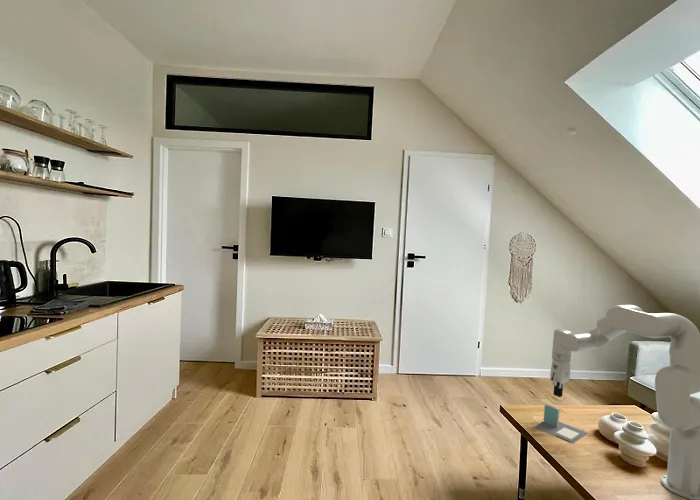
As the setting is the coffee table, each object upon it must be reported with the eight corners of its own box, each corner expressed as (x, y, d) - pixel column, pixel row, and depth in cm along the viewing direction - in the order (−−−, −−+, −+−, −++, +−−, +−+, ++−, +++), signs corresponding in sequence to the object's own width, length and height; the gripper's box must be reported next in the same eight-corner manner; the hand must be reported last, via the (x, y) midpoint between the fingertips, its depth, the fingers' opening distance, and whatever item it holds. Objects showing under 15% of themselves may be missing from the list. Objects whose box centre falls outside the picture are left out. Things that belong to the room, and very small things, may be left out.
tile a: (579, 433, 159) (571, 438, 154) (579, 436, 159) (570, 441, 154) (564, 427, 163) (556, 432, 159) (564, 430, 163) (555, 435, 159)
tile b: (558, 426, 167) (559, 408, 166) (557, 427, 166) (558, 409, 166) (544, 420, 171) (545, 403, 171) (543, 421, 171) (544, 404, 170)
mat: (588, 434, 162) (588, 433, 162) (572, 445, 152) (572, 443, 152) (550, 419, 175) (550, 418, 175) (533, 428, 165) (533, 427, 165)
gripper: (562, 361, 164) (558, 402, 165) (577, 356, 173) (573, 395, 174) (545, 356, 170) (541, 396, 171) (560, 351, 179) (556, 389, 180)
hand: (557, 395), depth 172 cm, fingers closed
